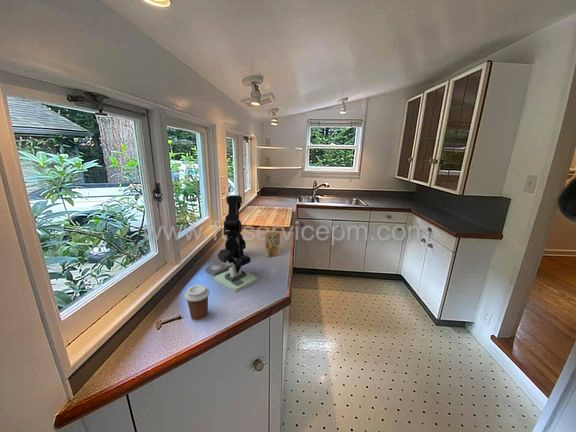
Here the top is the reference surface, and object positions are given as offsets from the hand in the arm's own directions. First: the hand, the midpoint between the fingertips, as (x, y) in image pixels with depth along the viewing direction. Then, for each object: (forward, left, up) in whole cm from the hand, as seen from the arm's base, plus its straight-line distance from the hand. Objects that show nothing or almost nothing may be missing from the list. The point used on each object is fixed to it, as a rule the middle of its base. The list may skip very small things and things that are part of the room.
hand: (235, 271), depth 123 cm
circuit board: (0, 0, -4) cm, 4 cm away
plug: (0, -1, -2) cm, 2 cm away
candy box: (-7, +34, -5) cm, 35 cm away
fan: (-15, -1, -4) cm, 16 cm away
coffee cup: (+12, -27, -5) cm, 30 cm away
